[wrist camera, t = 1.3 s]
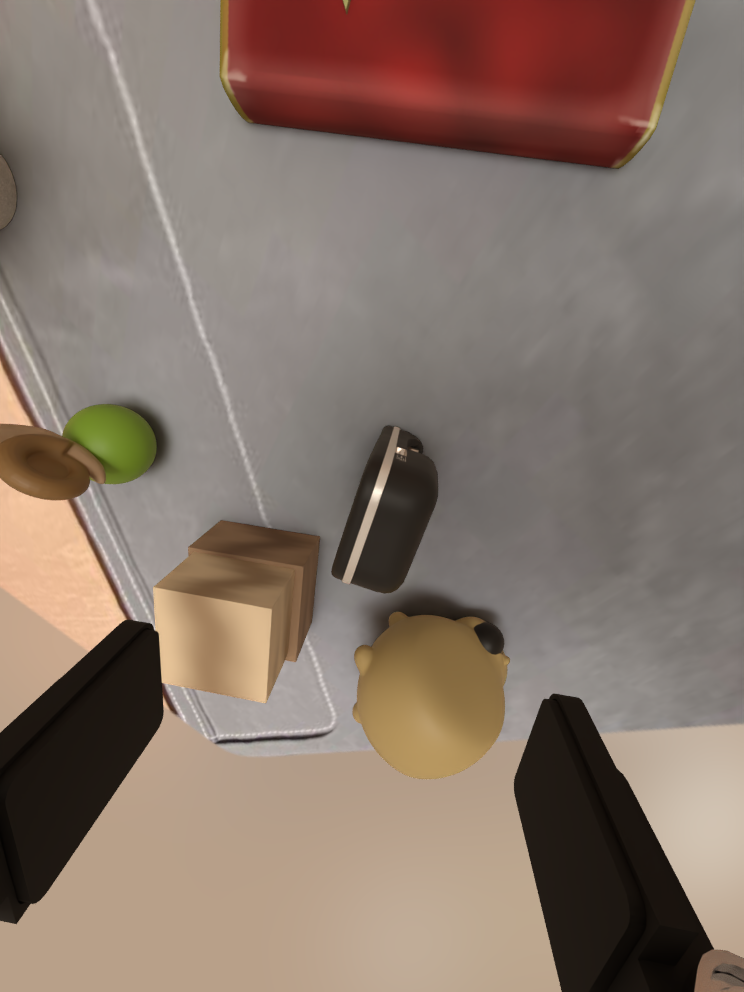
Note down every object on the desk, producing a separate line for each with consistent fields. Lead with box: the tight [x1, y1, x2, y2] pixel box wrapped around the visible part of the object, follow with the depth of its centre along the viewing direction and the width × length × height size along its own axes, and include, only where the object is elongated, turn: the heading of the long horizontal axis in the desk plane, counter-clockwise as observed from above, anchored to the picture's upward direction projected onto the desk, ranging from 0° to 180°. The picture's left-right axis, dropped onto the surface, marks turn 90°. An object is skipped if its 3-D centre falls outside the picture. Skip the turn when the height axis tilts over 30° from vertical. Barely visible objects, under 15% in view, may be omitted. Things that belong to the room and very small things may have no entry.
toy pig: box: [353, 612, 510, 779], centre depth 29 cm, size 10×12×11 cm
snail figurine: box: [0, 404, 157, 500], centre depth 24 cm, size 5×6×12 cm
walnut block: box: [188, 520, 320, 662], centre depth 30 cm, size 8×8×5 cm
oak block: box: [153, 552, 295, 703], centre depth 26 cm, size 7×7×4 cm
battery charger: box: [331, 426, 438, 593], centre depth 23 cm, size 7×4×11 cm, turn 162°
